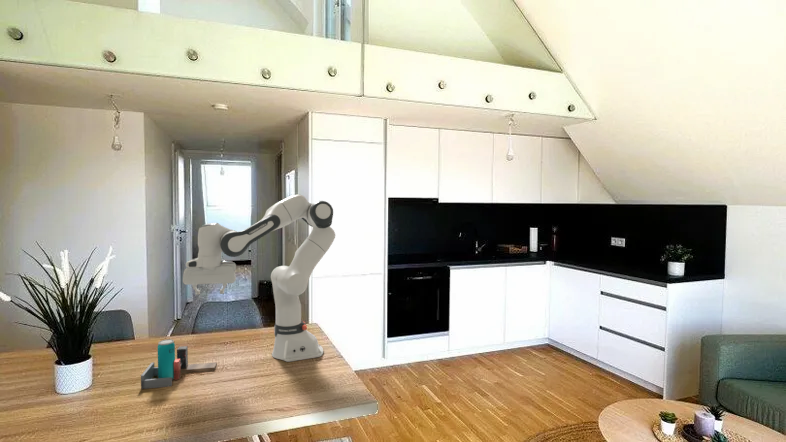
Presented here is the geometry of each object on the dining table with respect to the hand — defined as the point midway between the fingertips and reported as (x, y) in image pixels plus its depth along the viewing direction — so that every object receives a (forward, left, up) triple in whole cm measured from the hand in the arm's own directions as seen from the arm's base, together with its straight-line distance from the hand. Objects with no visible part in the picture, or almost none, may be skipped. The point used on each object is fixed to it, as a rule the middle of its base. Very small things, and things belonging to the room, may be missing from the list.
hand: (210, 294), depth 173 cm
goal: (+15, +15, -29) cm, 36 cm away
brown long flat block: (+5, +7, -29) cm, 30 cm away
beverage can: (+13, +15, -29) cm, 35 cm away
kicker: (+9, +11, -29) cm, 32 cm away
